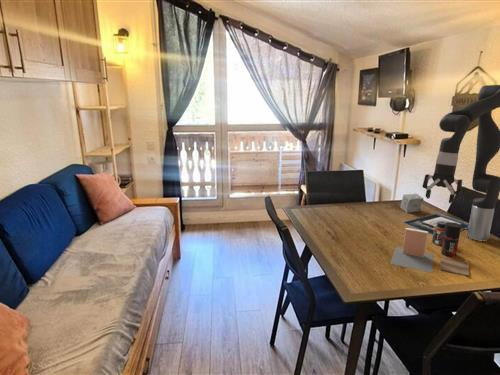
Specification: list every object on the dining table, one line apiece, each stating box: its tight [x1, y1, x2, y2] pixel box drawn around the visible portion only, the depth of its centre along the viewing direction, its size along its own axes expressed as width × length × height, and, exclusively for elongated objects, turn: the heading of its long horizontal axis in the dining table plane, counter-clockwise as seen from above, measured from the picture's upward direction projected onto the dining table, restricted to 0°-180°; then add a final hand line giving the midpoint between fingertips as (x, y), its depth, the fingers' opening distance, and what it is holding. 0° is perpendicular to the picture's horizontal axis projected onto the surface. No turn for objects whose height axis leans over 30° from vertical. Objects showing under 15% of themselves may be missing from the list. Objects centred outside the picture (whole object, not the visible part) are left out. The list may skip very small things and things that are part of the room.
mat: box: [390, 247, 434, 274], centre depth 147 cm, size 18×16×1 cm
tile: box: [402, 227, 429, 257], centre depth 149 cm, size 2×9×12 cm, turn 60°
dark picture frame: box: [402, 212, 469, 236], centre depth 185 cm, size 22×30×2 cm
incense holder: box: [400, 193, 424, 214], centre depth 206 cm, size 10×8×10 cm
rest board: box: [440, 256, 470, 278], centre depth 140 cm, size 12×10×1 cm
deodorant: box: [440, 222, 462, 258], centre depth 149 cm, size 6×6×15 cm
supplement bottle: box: [431, 221, 446, 247], centre depth 161 cm, size 6×6×11 cm
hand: (438, 200), depth 142 cm, fingers open, 8 cm apart
